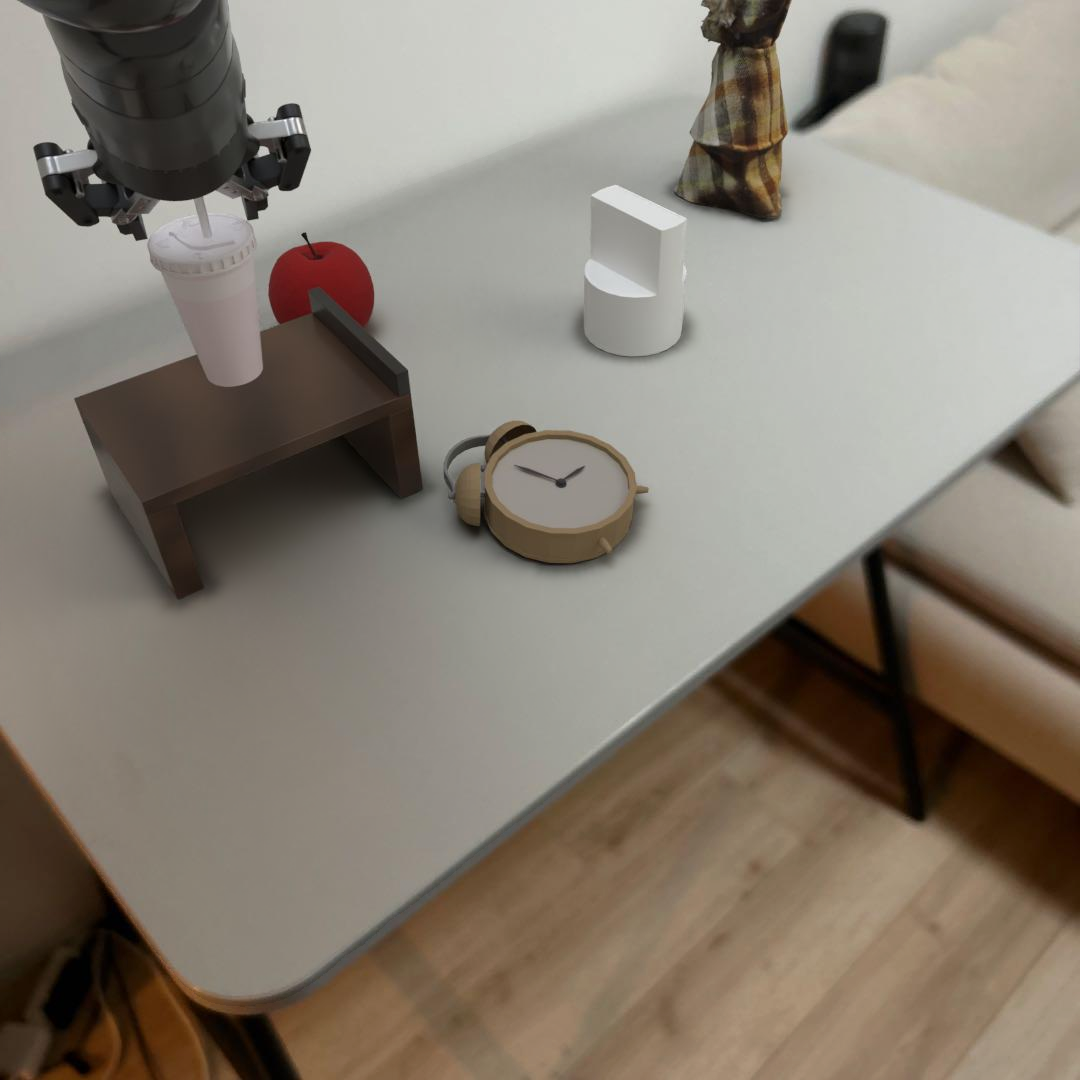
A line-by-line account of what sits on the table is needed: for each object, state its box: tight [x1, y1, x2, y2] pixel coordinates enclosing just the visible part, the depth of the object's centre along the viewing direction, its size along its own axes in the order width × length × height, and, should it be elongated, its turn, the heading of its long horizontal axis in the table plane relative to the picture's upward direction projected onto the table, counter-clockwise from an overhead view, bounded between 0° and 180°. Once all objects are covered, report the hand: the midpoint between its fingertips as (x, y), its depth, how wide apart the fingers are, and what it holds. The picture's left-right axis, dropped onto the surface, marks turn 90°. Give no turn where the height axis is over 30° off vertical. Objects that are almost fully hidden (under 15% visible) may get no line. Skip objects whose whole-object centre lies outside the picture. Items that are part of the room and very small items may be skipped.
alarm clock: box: [442, 420, 649, 564], centre depth 81 cm, size 11×5×15 cm
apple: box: [268, 231, 375, 329], centre depth 97 cm, size 9×9×10 cm
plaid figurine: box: [673, 0, 793, 219], centre depth 111 cm, size 14×14×25 cm
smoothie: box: [147, 196, 263, 387], centre depth 67 cm, size 6×6×14 cm
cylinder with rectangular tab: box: [583, 184, 688, 357], centre depth 96 cm, size 9×9×12 cm
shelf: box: [73, 287, 424, 600], centre depth 80 cm, size 20×14×11 cm
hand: (193, 214), depth 66 cm, fingers closed on smoothie, 6 cm apart
